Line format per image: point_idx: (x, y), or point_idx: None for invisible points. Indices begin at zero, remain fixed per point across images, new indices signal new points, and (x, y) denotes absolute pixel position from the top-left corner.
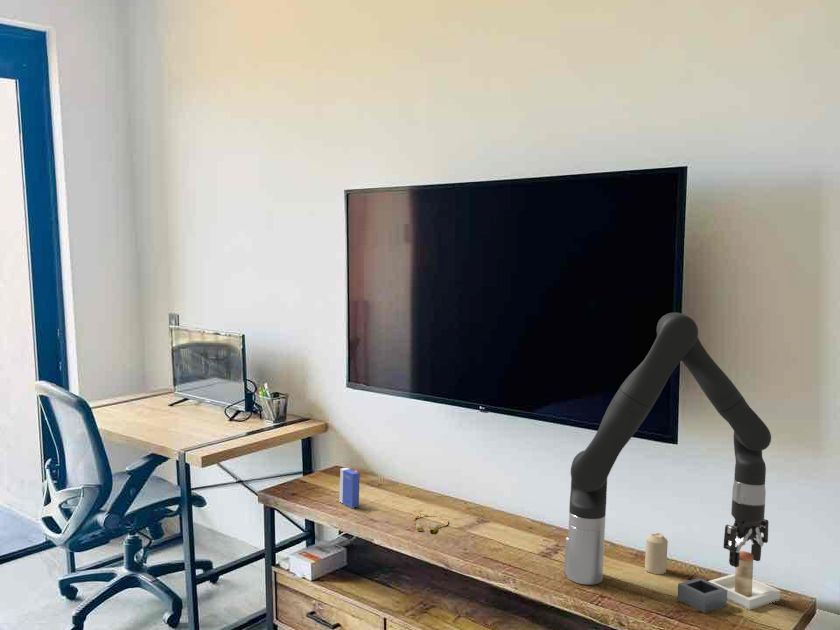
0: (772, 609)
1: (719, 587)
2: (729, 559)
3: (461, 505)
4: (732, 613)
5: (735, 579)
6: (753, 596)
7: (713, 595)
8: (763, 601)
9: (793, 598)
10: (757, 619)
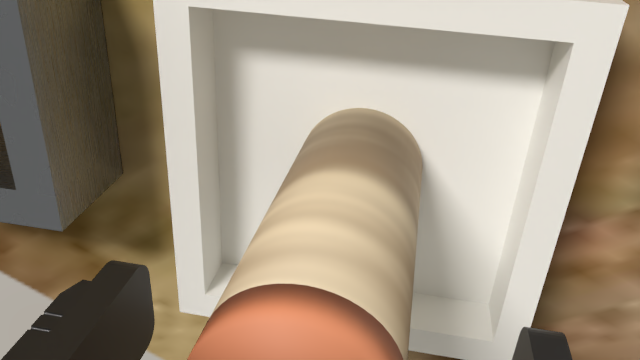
0: None
1: (35, 178)
2: (45, 313)
3: None
4: (85, 234)
5: (288, 174)
6: None
7: None
8: None
9: (622, 353)
10: (158, 331)
